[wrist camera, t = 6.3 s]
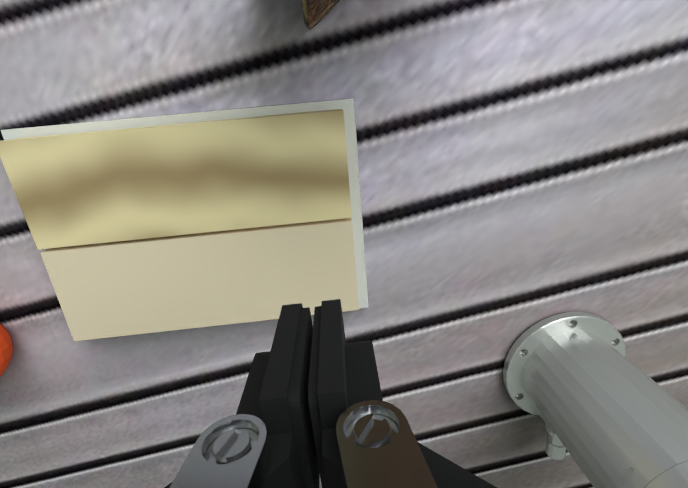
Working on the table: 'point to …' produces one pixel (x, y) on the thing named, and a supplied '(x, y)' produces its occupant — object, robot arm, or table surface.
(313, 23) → the book
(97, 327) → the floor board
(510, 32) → the table surface
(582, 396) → the robot arm
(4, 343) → the clementine
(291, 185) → the honey plank
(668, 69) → the table surface
